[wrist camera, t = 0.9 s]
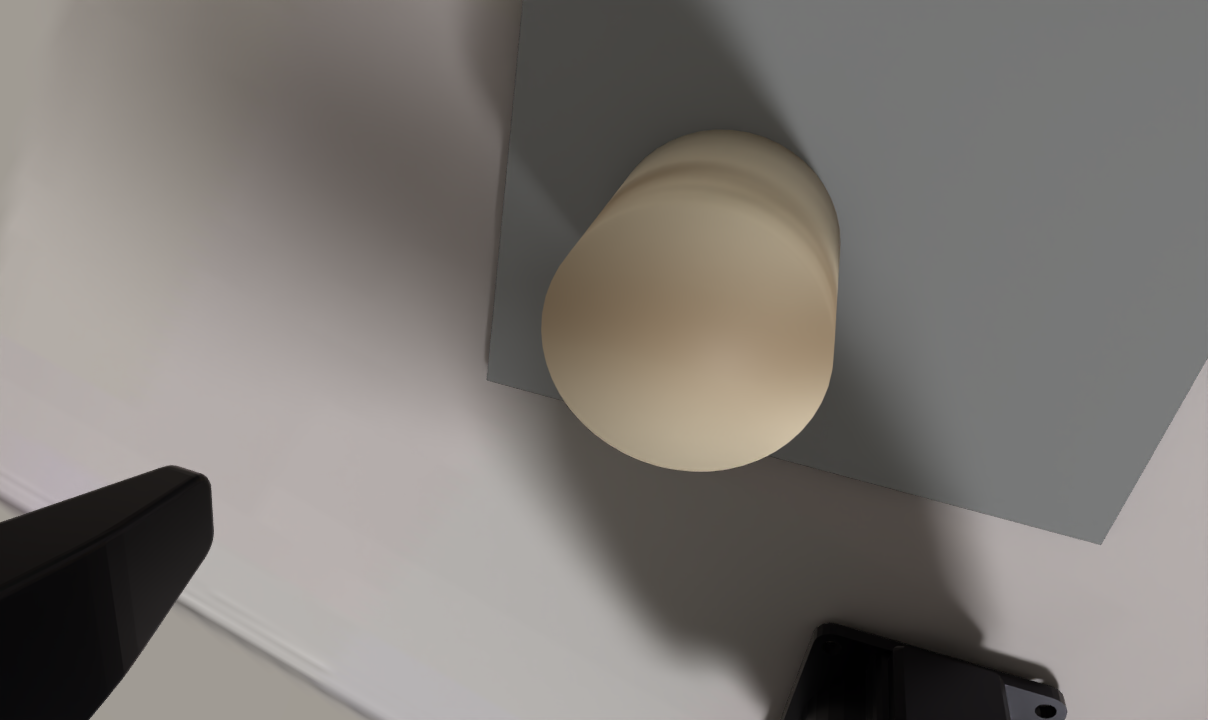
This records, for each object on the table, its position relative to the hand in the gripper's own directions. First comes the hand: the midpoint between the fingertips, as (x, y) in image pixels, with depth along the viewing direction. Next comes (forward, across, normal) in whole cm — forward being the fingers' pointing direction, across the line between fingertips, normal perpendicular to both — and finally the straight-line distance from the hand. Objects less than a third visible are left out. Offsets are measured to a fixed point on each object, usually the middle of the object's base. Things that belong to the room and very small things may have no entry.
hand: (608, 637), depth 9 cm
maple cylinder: (+12, 0, 0) cm, 12 cm away
